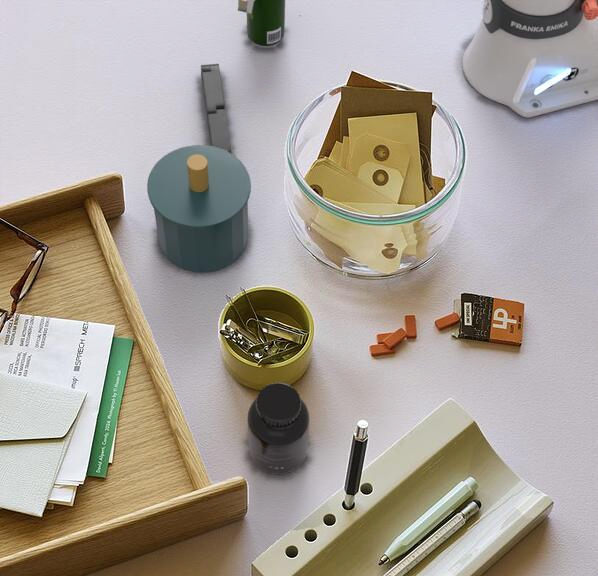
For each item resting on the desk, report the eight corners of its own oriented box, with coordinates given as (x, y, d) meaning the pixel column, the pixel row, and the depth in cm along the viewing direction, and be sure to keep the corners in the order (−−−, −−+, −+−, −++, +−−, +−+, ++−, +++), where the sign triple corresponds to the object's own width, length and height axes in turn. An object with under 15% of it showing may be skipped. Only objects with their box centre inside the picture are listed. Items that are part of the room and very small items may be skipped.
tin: (154, 205, 136) (147, 155, 128) (241, 196, 138) (240, 146, 129) (163, 277, 132) (156, 230, 123) (253, 267, 133) (252, 220, 124)
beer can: (291, 39, 151) (294, -32, 140) (262, 55, 149) (262, -15, 138) (268, 17, 152) (269, -54, 142) (239, 33, 151) (237, -37, 140)
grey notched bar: (200, 76, 147) (199, 60, 144) (219, 74, 147) (218, 58, 144) (214, 176, 139) (213, 160, 136) (233, 174, 139) (233, 159, 137)
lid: (143, 156, 129) (139, 126, 124) (243, 146, 130) (242, 116, 125) (153, 237, 123) (148, 209, 119) (257, 226, 124) (257, 198, 120)
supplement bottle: (249, 422, 123) (248, 371, 112) (308, 424, 123) (312, 373, 112) (246, 475, 120) (245, 428, 109) (306, 478, 120) (310, 431, 109)
